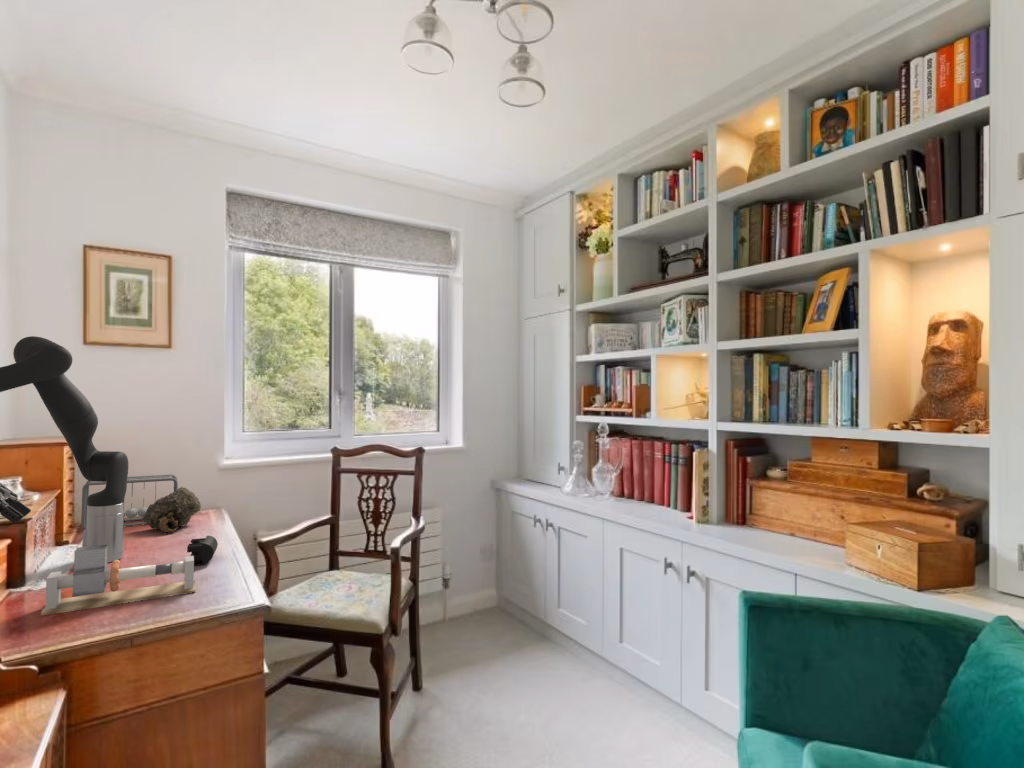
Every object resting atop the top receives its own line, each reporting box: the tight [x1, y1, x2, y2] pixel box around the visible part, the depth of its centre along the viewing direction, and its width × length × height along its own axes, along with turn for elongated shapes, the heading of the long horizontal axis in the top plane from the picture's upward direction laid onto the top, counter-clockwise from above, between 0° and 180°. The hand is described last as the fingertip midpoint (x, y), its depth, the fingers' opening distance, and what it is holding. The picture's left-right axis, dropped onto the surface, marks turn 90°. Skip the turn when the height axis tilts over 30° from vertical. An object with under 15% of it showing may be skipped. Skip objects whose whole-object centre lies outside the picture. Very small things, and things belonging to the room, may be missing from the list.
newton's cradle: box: [80, 473, 179, 531], centre depth 213 cm, size 30×10×18 cm, turn 123°
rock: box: [141, 486, 202, 534], centre depth 206 cm, size 18×14×15 cm
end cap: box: [186, 535, 219, 567], centre depth 169 cm, size 10×7×7 cm
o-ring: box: [109, 559, 122, 592], centre depth 137 cm, size 2×7×7 cm, turn 31°
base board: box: [40, 579, 196, 616], centre depth 138 cm, size 31×8×1 cm, turn 121°
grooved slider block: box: [71, 545, 108, 597], centre depth 135 cm, size 6×6×10 cm
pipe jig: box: [44, 555, 195, 610], centre depth 138 cm, size 30×5×8 cm, turn 121°
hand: (23, 517), depth 128 cm, fingers open, 6 cm apart
